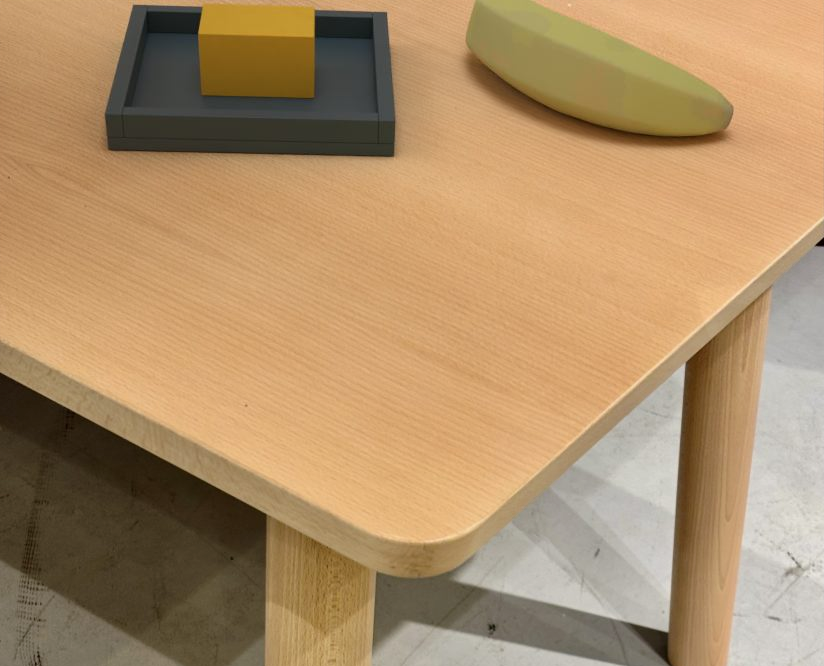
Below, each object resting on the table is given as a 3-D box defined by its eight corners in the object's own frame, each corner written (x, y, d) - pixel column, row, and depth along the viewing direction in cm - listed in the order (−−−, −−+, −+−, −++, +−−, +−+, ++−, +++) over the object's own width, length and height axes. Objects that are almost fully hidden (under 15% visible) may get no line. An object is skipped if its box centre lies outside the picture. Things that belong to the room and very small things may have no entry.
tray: (108, 150, 82) (104, 113, 80) (136, 37, 94) (133, 4, 92) (394, 156, 83) (395, 120, 82) (385, 44, 95) (387, 11, 93)
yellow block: (201, 95, 86) (197, 33, 83) (206, 63, 90) (203, 3, 87) (314, 98, 87) (314, 36, 84) (314, 66, 90) (314, 6, 87)
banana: (561, 38, 79) (448, -46, 95) (532, 131, 82) (426, 34, 97) (756, 79, 85) (618, -7, 100) (722, 165, 87) (594, 68, 103)
